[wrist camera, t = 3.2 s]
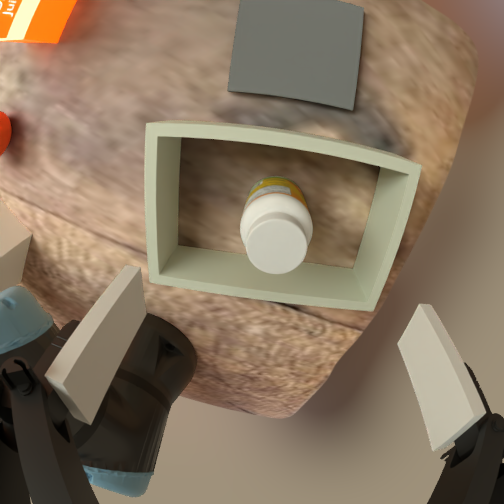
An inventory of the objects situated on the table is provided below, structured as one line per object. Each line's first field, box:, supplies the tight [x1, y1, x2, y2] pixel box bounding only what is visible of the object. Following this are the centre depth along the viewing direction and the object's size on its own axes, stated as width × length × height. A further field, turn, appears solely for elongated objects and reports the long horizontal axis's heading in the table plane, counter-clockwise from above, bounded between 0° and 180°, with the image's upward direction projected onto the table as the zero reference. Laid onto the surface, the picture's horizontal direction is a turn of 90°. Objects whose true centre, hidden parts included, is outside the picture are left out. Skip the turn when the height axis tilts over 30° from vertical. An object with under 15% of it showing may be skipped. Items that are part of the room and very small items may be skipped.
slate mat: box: [227, 0, 364, 110], centre depth 19 cm, size 11×11×1 cm
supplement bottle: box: [240, 176, 313, 274], centre depth 22 cm, size 5×5×10 cm
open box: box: [145, 120, 422, 311], centre depth 24 cm, size 14×21×6 cm, turn 83°
